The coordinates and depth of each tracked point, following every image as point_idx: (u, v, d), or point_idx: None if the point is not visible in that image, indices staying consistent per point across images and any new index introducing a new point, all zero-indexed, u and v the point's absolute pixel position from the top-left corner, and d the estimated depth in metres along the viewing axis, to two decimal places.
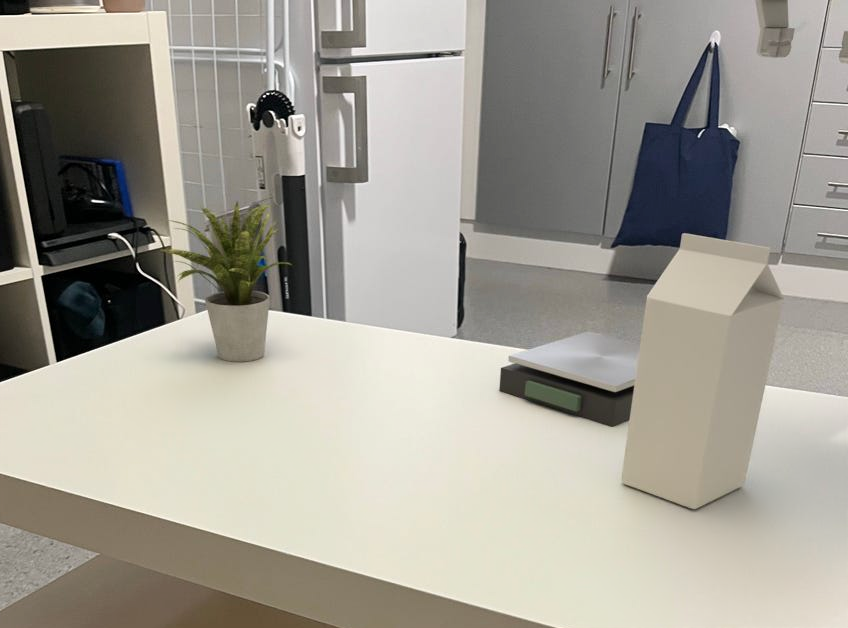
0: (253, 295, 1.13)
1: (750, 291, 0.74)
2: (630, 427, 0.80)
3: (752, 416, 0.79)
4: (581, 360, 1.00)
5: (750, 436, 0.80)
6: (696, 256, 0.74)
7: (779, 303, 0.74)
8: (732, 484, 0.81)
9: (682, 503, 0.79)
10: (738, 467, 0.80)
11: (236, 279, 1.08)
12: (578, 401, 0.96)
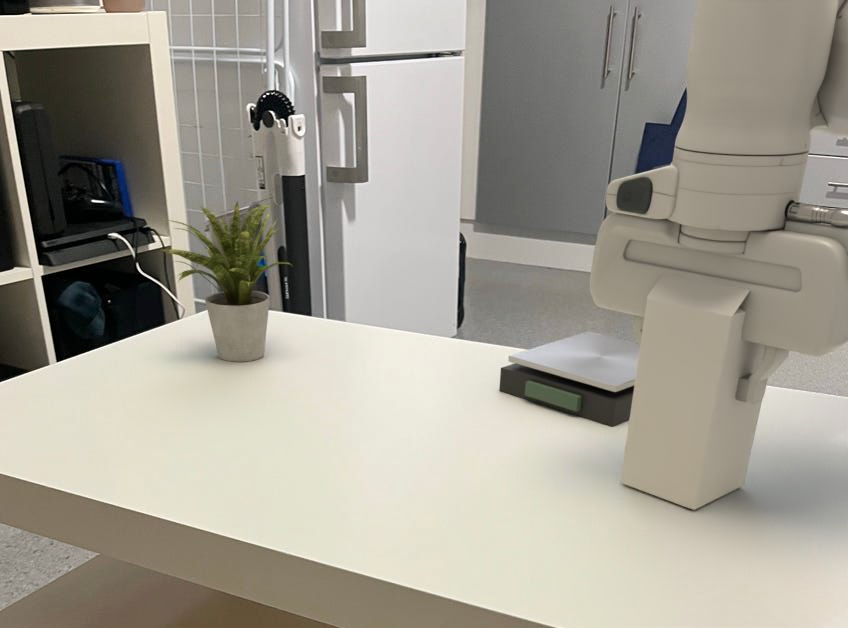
0: (253, 295, 1.13)
1: None
2: (630, 427, 0.80)
3: (752, 416, 0.78)
4: (581, 360, 1.00)
5: (749, 436, 0.80)
6: None
7: None
8: (732, 484, 0.81)
9: (682, 503, 0.79)
10: (738, 468, 0.80)
11: (236, 279, 1.08)
12: (578, 401, 0.96)
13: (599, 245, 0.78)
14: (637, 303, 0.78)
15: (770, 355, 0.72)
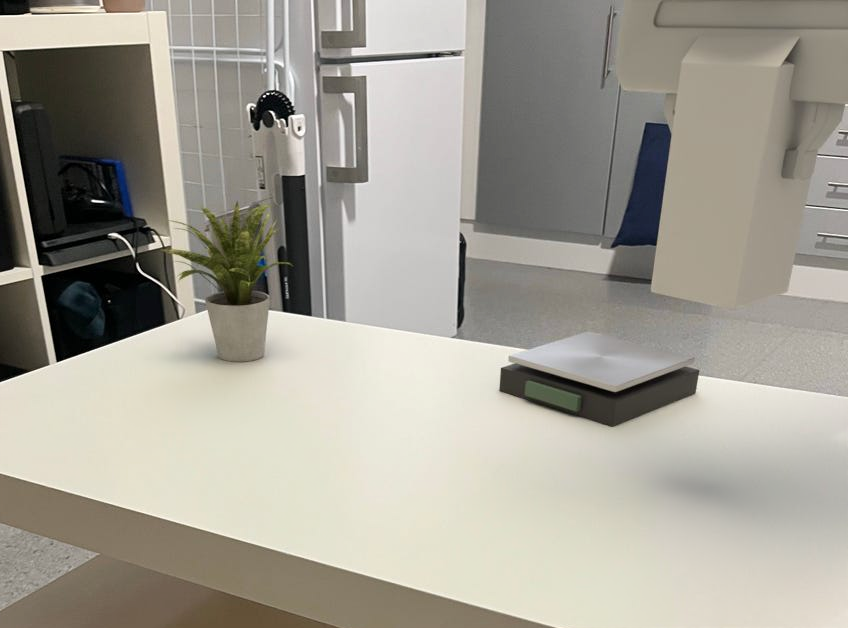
0: (253, 295, 1.13)
1: None
2: (661, 223, 0.72)
3: (799, 205, 0.70)
4: (581, 360, 1.00)
5: (795, 230, 0.71)
6: None
7: None
8: (775, 287, 0.73)
9: (720, 304, 0.71)
10: (782, 267, 0.72)
11: (236, 279, 1.08)
12: (578, 401, 0.96)
13: (626, 13, 0.70)
14: (669, 77, 0.69)
15: (822, 115, 0.64)
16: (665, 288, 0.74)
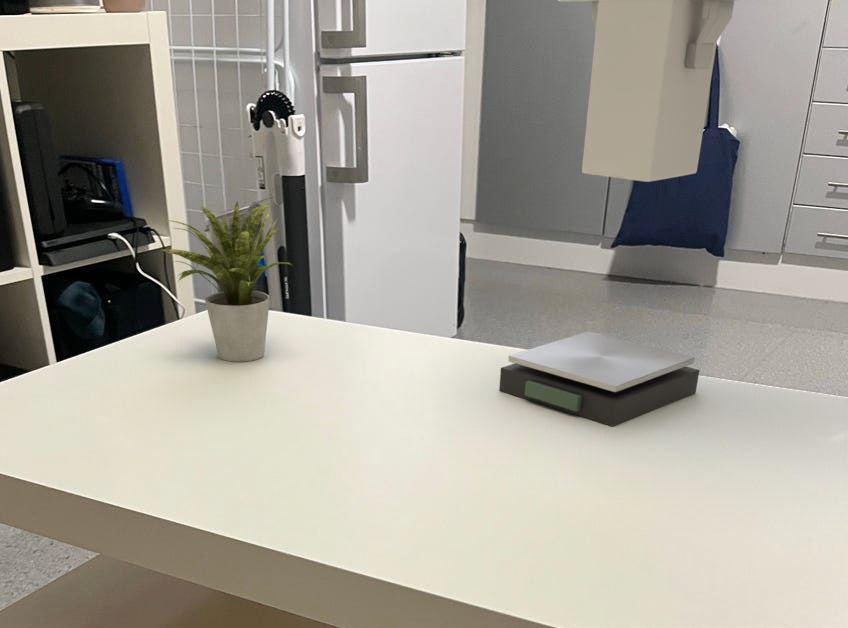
0: (253, 295, 1.13)
1: None
2: (589, 112, 0.86)
3: (702, 95, 0.84)
4: (581, 360, 1.00)
5: (700, 117, 0.85)
6: None
7: None
8: (685, 167, 0.87)
9: (637, 178, 0.85)
10: (690, 149, 0.86)
11: (236, 279, 1.08)
12: (578, 401, 0.96)
13: None
14: None
15: (714, 11, 0.78)
16: (593, 168, 0.88)
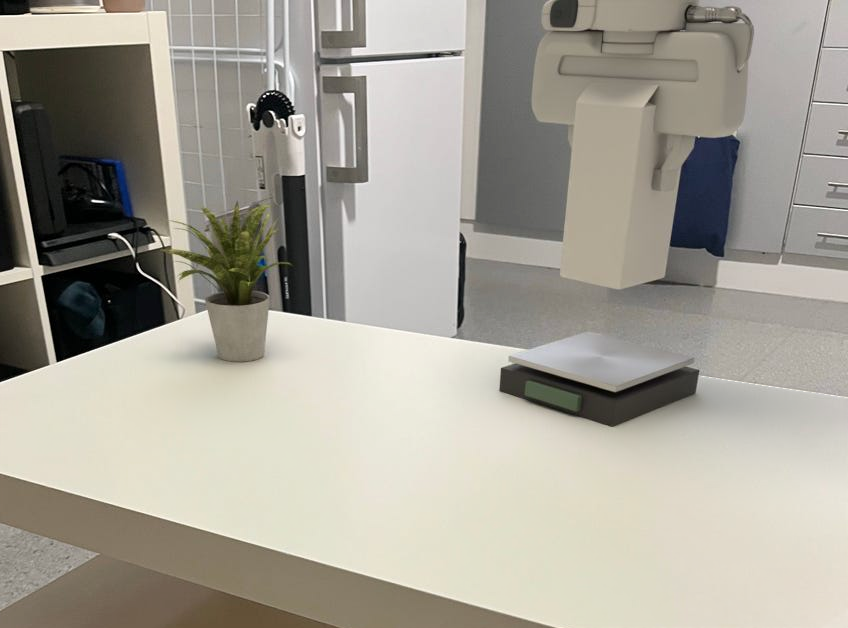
0: (253, 295, 1.13)
1: None
2: (566, 223, 0.94)
3: (668, 210, 0.92)
4: (581, 360, 1.00)
5: (667, 229, 0.93)
6: None
7: None
8: (653, 273, 0.95)
9: (609, 285, 0.93)
10: (658, 258, 0.94)
11: (236, 279, 1.08)
12: (578, 401, 0.96)
13: (538, 63, 0.92)
14: (570, 112, 0.91)
15: (677, 143, 0.86)
16: (570, 273, 0.96)
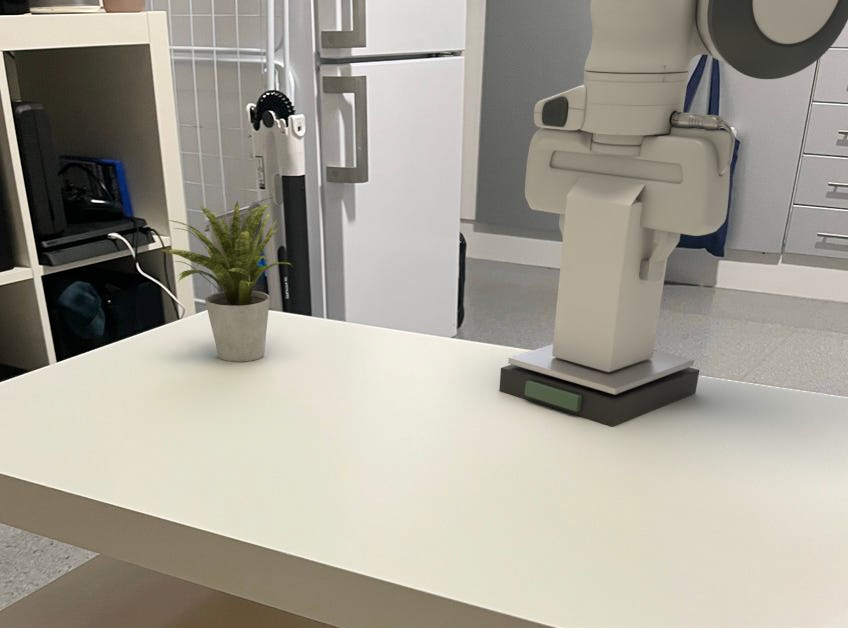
0: (253, 295, 1.13)
1: None
2: (558, 307, 0.98)
3: (656, 296, 0.97)
4: None
5: (655, 313, 0.98)
6: None
7: None
8: (642, 354, 0.99)
9: (599, 368, 0.97)
10: (646, 340, 0.98)
11: (236, 279, 1.08)
12: (578, 401, 0.96)
13: (530, 156, 0.96)
14: (561, 203, 0.96)
15: (663, 238, 0.90)
16: (562, 354, 1.00)
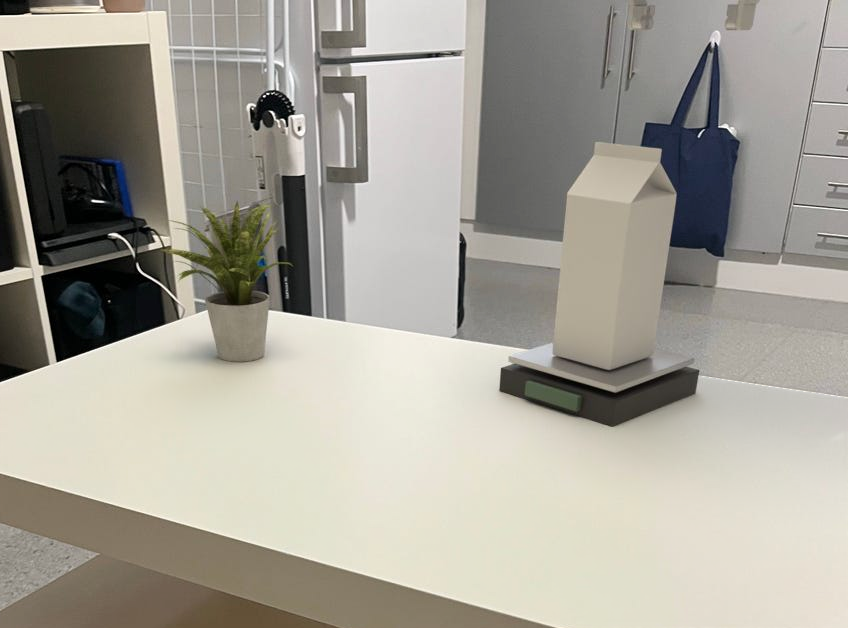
0: (253, 295, 1.13)
1: (650, 188, 0.92)
2: (558, 305, 0.98)
3: (656, 294, 0.96)
4: None
5: (655, 311, 0.97)
6: (606, 160, 0.92)
7: (673, 197, 0.92)
8: (642, 353, 0.99)
9: (599, 366, 0.97)
10: (646, 338, 0.98)
11: (236, 279, 1.08)
12: (578, 401, 0.96)
13: None
14: None
15: None
16: (562, 352, 1.00)
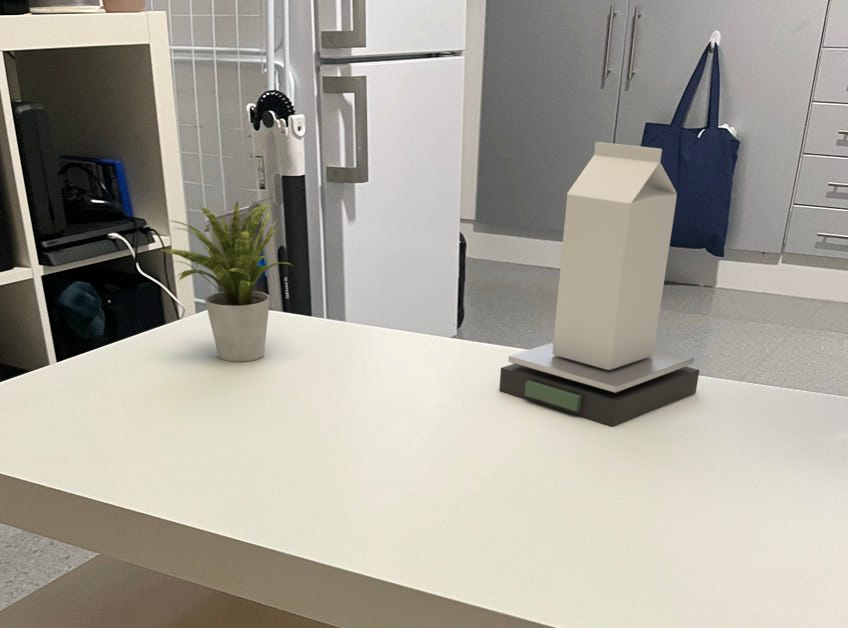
0: (253, 295, 1.13)
1: (650, 188, 0.92)
2: (558, 305, 0.98)
3: (656, 294, 0.96)
4: None
5: (655, 311, 0.97)
6: (606, 160, 0.92)
7: (673, 197, 0.92)
8: (642, 353, 0.99)
9: (599, 366, 0.97)
10: (646, 338, 0.98)
11: (236, 279, 1.08)
12: (578, 401, 0.96)
13: None
14: None
15: None
16: (562, 352, 1.00)
